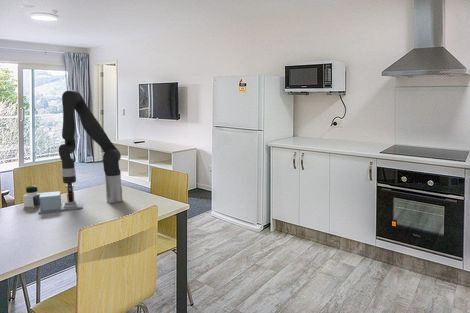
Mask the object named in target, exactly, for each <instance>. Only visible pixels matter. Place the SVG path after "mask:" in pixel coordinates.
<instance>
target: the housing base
mask: <svg viewBox="0 0 470 313" xmlns="http://www.w3.org/2000/svg"><path fill="white" fill-rule="evenodd" d="M81 209H83V202H82V201H76V200H75V202H68V201H67V202H63V203H61V209H55V210H47V211H40V207H38V213H37V214H38V215H40V214H49V213H57V212H58V211H59V212H65V211H67V212H68V211H73V210H81Z"/></svg>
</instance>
